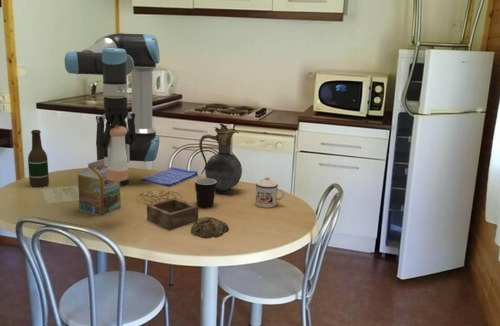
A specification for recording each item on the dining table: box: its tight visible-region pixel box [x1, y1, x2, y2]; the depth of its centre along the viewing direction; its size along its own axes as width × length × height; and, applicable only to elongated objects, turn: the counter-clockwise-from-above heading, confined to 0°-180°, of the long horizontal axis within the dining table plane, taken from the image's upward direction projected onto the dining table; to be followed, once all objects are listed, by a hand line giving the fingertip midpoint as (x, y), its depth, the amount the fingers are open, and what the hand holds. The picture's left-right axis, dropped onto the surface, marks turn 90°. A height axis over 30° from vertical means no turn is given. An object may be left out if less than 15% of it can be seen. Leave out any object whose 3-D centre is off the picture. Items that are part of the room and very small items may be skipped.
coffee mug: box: [194, 177, 217, 209], centre depth 191 cm, size 12×9×10 cm
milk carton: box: [77, 159, 122, 217], centre depth 180 cm, size 11×11×19 cm
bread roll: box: [190, 216, 230, 239], centre depth 166 cm, size 13×12×5 cm
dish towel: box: [139, 166, 199, 188], centre depth 225 cm, size 17×24×3 cm
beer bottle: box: [27, 129, 50, 188], centre depth 203 cm, size 8×8×24 cm
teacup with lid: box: [254, 175, 286, 209], centre depth 194 cm, size 12×9×12 cm
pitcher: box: [198, 123, 243, 195], centre depth 206 cm, size 11×19×30 cm, turn 76°
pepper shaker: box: [106, 124, 130, 181], centre depth 162 cm, size 7×7×19 cm
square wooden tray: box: [146, 197, 199, 231], centre depth 173 cm, size 13×13×6 cm
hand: (117, 164), depth 164 cm, fingers closed on pepper shaker, 7 cm apart
